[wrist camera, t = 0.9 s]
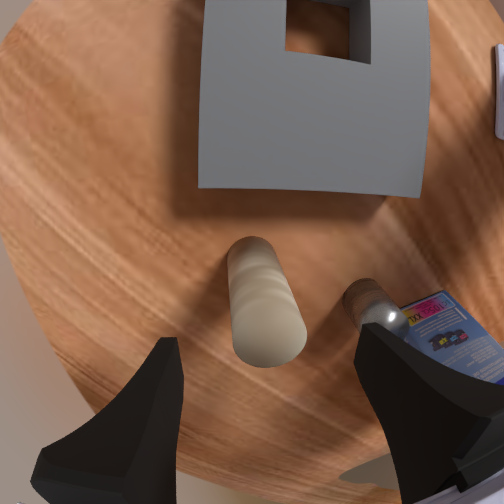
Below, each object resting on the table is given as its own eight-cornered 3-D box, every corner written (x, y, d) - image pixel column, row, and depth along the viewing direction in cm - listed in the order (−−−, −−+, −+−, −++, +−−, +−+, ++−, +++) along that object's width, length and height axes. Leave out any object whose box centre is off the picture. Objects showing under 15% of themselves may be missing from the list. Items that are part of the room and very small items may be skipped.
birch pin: (277, 236, 19) (311, 308, 12) (273, 280, 21) (301, 365, 13) (227, 236, 19) (232, 310, 12) (226, 281, 20) (232, 368, 13)
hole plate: (395, -53, 12) (416, -68, 9) (394, 186, 19) (419, 198, 16) (217, -85, 11) (218, -109, 8) (201, 177, 18) (198, 188, 15)
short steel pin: (384, 277, 21) (415, 311, 17) (375, 313, 23) (401, 349, 18) (346, 278, 21) (372, 315, 17) (339, 315, 22) (361, 355, 18)
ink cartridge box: (387, 312, 23) (491, 460, 9) (443, 284, 22) (561, 402, 9) (394, 387, 27) (459, 507, 13) (442, 363, 26) (516, 468, 13)
